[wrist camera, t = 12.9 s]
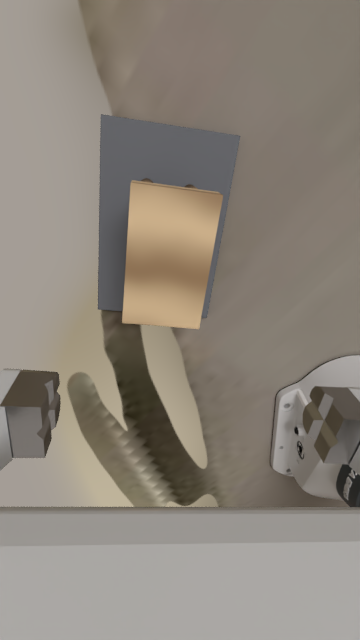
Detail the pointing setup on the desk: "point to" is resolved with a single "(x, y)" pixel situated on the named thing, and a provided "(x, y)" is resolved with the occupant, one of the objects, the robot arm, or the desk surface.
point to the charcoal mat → (162, 168)
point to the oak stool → (168, 253)
